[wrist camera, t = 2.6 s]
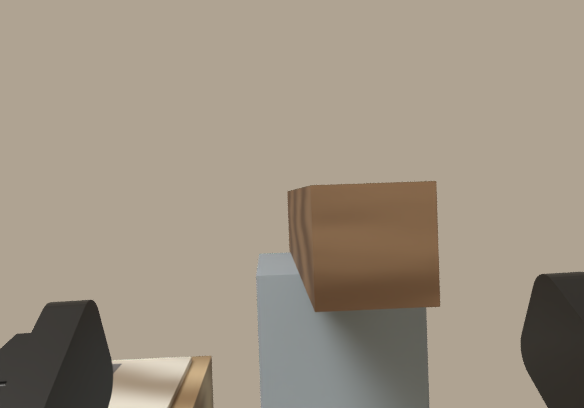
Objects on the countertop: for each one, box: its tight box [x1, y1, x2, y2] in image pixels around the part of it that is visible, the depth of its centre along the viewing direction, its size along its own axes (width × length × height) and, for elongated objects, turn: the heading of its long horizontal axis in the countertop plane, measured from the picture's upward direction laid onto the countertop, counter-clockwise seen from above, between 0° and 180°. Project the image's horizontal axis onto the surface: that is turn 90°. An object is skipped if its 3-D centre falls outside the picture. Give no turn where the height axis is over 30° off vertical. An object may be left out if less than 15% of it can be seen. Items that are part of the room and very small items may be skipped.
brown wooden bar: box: [288, 181, 440, 312], centre depth 27 cm, size 20×4×4 cm, turn 3°
